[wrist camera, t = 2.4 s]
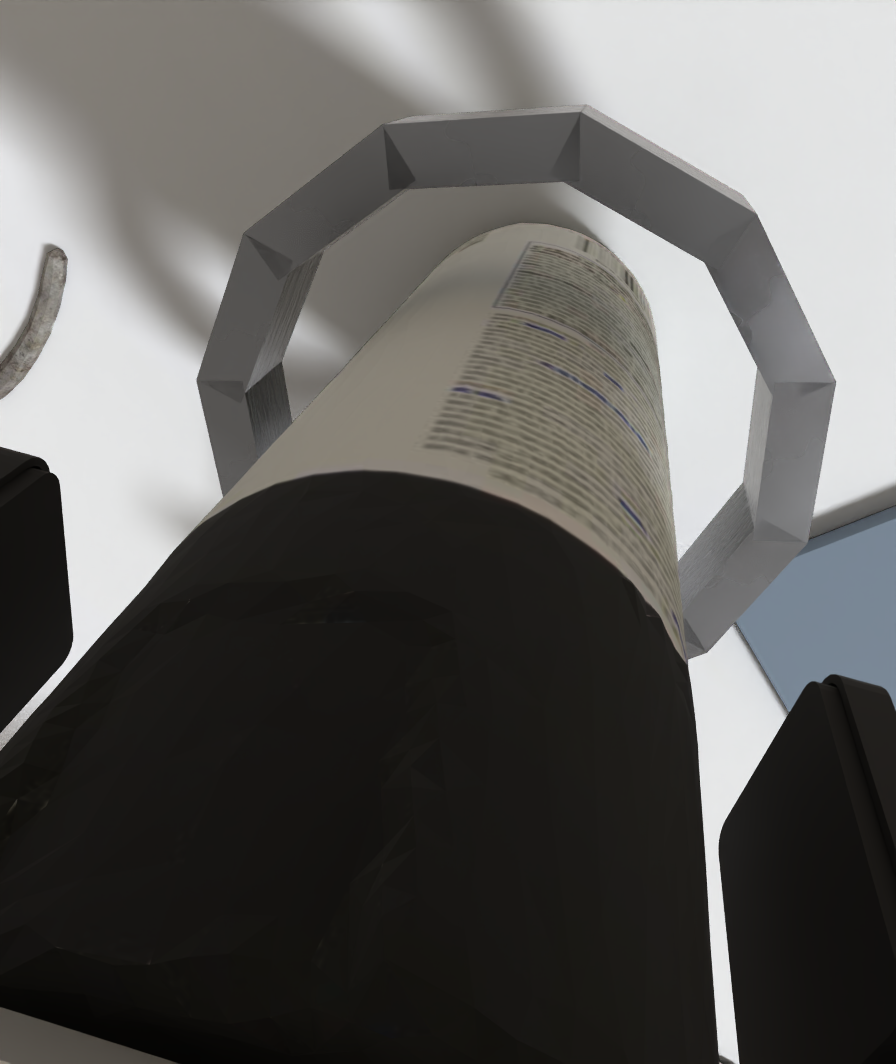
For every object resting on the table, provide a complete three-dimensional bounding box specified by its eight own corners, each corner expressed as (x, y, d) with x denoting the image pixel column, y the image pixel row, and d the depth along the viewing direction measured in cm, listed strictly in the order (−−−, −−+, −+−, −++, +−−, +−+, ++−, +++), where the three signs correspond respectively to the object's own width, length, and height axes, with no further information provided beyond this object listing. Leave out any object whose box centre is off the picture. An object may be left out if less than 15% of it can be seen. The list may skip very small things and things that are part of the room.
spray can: (399, 226, 22) (-471, 865, 5) (664, 203, 20) (807, 1030, 3) (429, 456, 25) (-16, 1327, 8) (660, 452, 23) (722, 1521, 6)
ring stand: (414, 810, 33) (347, 1038, 25) (66, 401, 26) (-165, 544, 19) (947, 640, 24) (1087, 907, 17) (629, -25, 18) (622, -80, 10)
